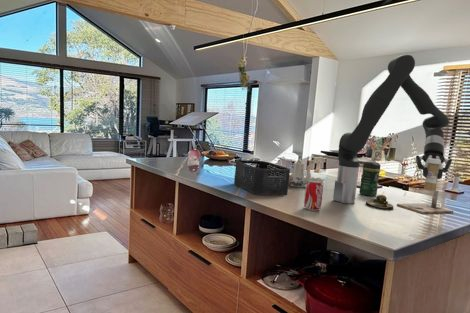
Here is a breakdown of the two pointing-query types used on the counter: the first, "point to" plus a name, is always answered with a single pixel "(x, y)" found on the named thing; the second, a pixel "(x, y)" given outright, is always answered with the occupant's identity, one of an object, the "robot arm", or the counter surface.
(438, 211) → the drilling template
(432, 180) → the sprinkles bottle
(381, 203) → the olive green hat
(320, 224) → the counter surface
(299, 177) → the chinaware
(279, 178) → the storage bin
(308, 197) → the soda can
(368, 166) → the coffee jar
